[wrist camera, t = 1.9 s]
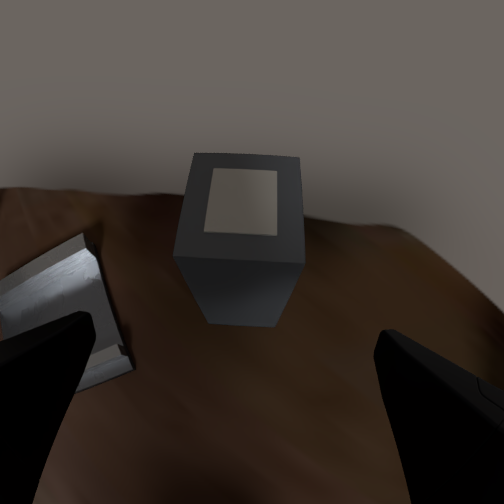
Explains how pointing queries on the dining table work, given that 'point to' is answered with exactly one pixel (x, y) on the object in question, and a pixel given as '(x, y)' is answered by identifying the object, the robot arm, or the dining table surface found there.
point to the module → (241, 236)
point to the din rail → (67, 304)
